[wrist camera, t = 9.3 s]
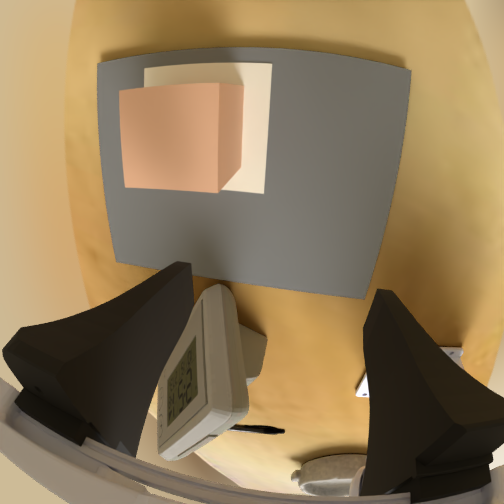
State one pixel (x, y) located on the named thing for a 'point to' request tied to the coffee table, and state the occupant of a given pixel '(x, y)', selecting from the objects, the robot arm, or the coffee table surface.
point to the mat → (268, 169)
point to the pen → (257, 429)
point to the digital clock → (207, 376)
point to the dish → (329, 475)
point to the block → (181, 136)
